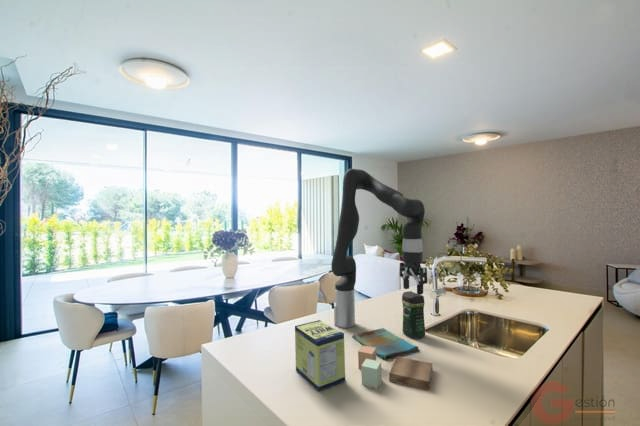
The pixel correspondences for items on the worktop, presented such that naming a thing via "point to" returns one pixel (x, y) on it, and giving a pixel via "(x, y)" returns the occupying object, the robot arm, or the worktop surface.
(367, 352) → the terracotta block
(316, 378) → the protein box
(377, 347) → the dish towel
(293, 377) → the worktop surface
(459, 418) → the worktop surface
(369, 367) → the sage block
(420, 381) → the plinth
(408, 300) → the coffee jar
